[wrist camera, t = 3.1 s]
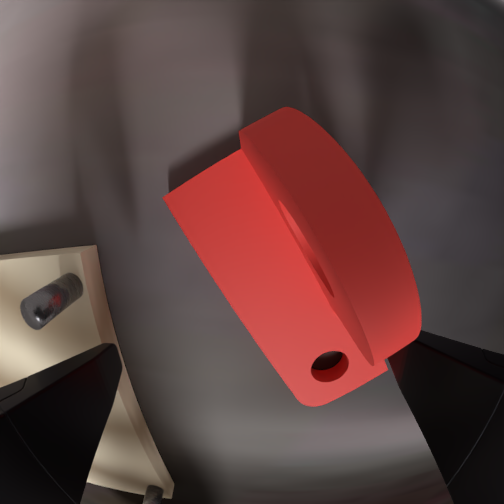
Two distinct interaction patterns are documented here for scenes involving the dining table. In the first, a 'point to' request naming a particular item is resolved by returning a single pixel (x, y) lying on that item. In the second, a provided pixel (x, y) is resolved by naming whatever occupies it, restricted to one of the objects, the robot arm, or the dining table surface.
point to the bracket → (303, 254)
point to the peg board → (73, 343)
